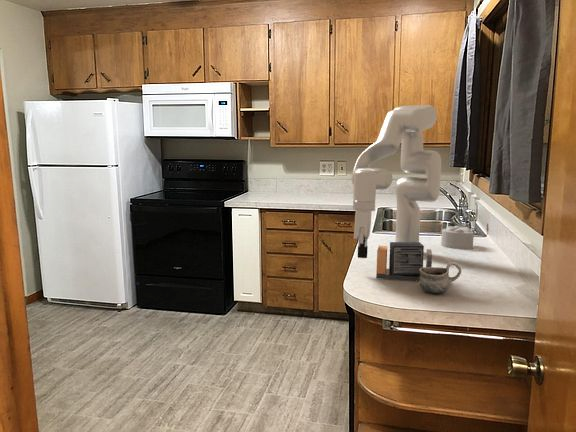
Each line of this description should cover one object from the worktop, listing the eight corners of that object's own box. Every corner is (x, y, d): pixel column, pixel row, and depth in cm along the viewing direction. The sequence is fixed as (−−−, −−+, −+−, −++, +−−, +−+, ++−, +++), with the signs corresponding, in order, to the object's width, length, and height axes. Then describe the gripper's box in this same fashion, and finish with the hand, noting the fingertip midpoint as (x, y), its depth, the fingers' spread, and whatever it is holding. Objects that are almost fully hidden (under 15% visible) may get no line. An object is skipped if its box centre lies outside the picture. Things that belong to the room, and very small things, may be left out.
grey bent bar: (377, 272, 172) (378, 246, 170) (429, 275, 168) (431, 249, 166) (376, 278, 164) (377, 251, 163) (430, 282, 160) (432, 255, 158)
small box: (418, 270, 169) (420, 241, 167) (423, 275, 162) (424, 245, 161) (388, 270, 169) (389, 241, 167) (391, 275, 163) (393, 245, 161)
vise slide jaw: (377, 267, 172) (378, 245, 170) (386, 267, 171) (387, 245, 169) (376, 273, 164) (377, 250, 163) (385, 274, 163) (386, 251, 162)
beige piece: (473, 249, 206) (475, 230, 205) (442, 248, 209) (443, 228, 207) (470, 244, 216) (471, 225, 215) (440, 242, 219) (441, 224, 217)
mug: (415, 286, 156) (416, 256, 154) (454, 287, 155) (456, 257, 153) (421, 296, 147) (423, 264, 145) (463, 297, 146) (465, 265, 144)
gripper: (355, 202, 173) (354, 251, 176) (350, 208, 159) (348, 262, 162) (376, 203, 171) (374, 253, 175) (373, 209, 157) (371, 263, 160)
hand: (362, 257), depth 168 cm, fingers closed
